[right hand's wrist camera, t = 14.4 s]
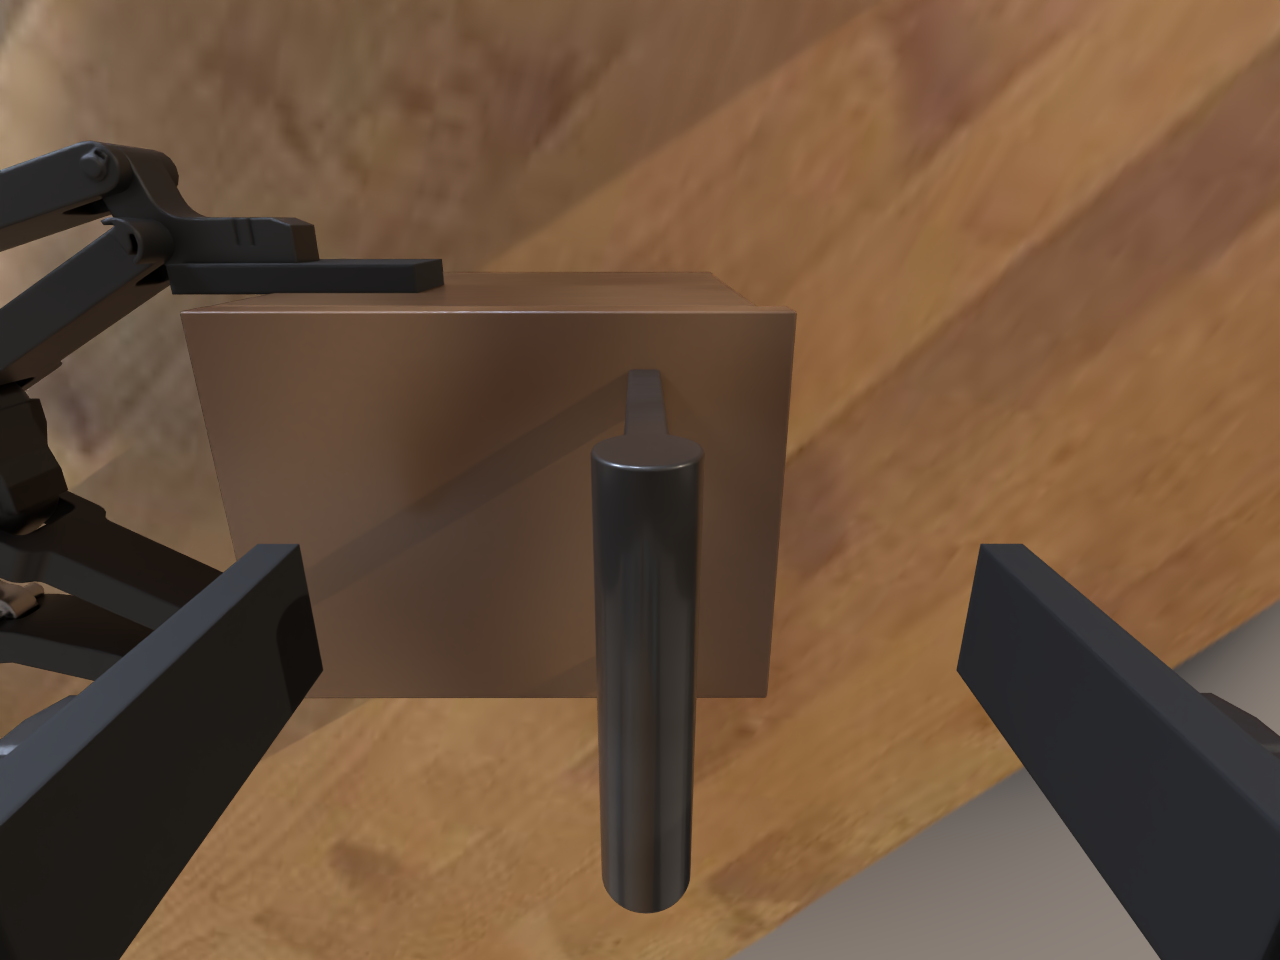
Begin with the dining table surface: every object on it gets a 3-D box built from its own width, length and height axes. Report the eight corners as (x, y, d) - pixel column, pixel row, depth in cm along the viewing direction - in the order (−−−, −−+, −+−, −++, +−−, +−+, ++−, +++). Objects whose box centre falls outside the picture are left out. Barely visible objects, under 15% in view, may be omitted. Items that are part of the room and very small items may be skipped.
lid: (788, 305, 16) (922, 381, 8) (760, 675, 19) (837, 960, 12) (205, 305, 16) (-184, 382, 8) (285, 676, 19) (63, 962, 12)
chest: (711, 272, 26) (758, 305, 16) (702, 516, 29) (736, 674, 19) (377, 272, 26) (206, 305, 16) (409, 516, 29) (286, 675, 19)
